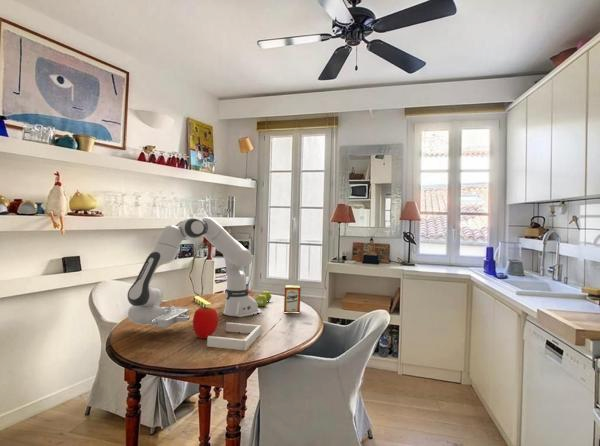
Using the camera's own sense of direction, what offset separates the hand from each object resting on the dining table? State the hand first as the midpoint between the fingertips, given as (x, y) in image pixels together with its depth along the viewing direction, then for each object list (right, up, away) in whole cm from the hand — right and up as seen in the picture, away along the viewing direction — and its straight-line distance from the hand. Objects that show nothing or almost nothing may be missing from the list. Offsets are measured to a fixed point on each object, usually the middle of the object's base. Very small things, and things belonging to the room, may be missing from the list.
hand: (188, 318), depth 156 cm
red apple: (+9, -8, -2) cm, 12 cm away
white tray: (+23, -8, -4) cm, 24 cm away
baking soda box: (+48, -9, +46) cm, 67 cm away
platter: (-11, -8, +55) cm, 57 cm away
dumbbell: (+28, -9, +64) cm, 70 cm away
